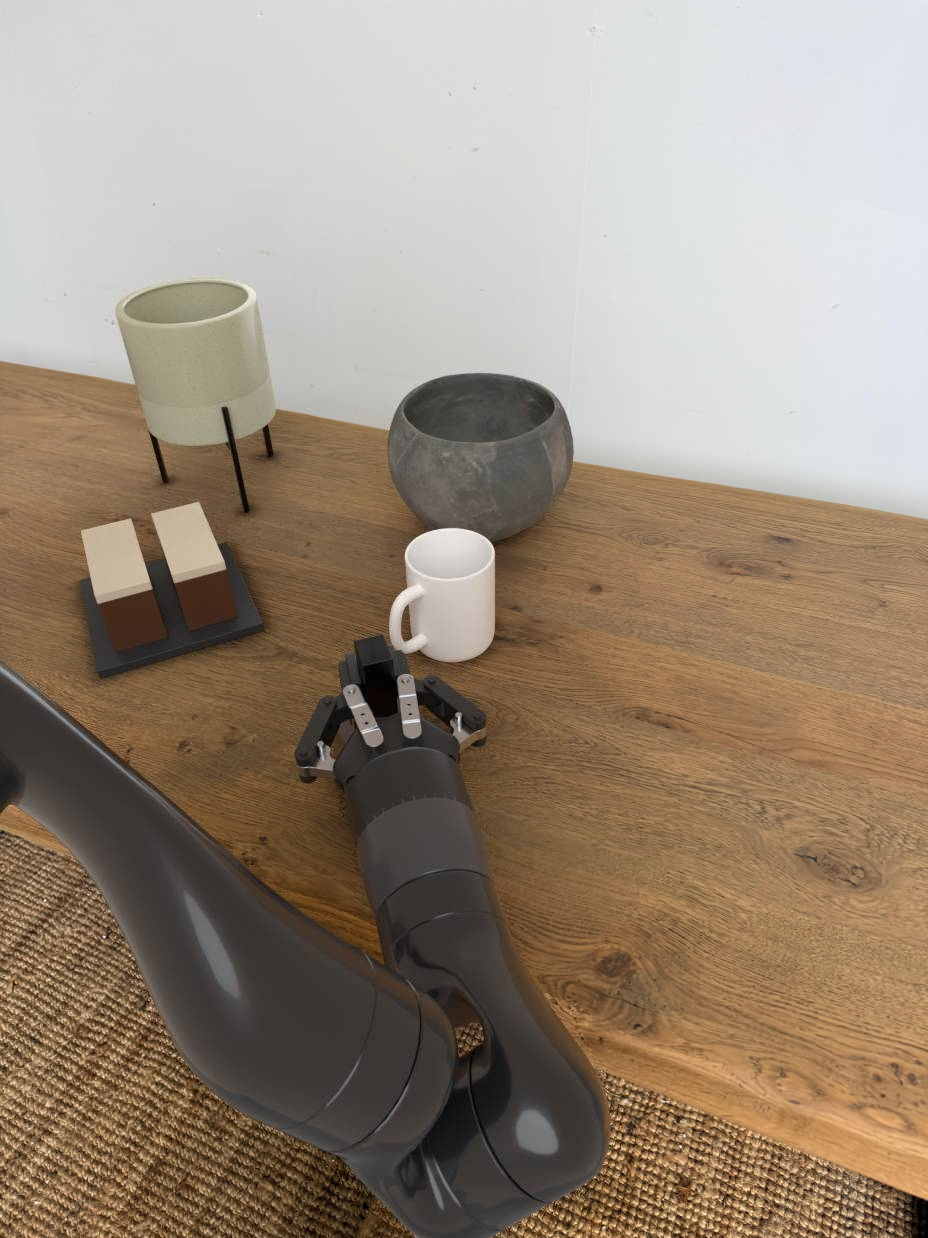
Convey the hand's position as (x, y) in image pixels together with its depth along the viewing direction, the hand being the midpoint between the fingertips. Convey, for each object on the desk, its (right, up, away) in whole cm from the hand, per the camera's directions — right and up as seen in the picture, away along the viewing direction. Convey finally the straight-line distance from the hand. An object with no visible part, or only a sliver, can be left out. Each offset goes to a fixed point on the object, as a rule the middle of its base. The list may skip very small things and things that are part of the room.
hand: (369, 658), depth 65 cm
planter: (-23, +20, +45) cm, 55 cm away
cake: (-24, +4, +25) cm, 35 cm away
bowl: (+9, +14, +37) cm, 40 cm away
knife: (+1, -11, +6) cm, 13 cm away
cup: (+5, 0, +20) cm, 20 cm away
